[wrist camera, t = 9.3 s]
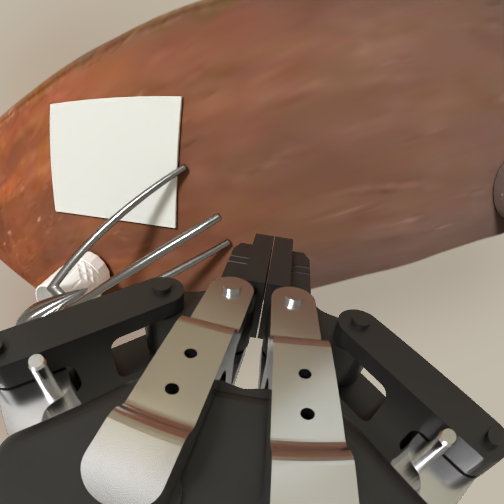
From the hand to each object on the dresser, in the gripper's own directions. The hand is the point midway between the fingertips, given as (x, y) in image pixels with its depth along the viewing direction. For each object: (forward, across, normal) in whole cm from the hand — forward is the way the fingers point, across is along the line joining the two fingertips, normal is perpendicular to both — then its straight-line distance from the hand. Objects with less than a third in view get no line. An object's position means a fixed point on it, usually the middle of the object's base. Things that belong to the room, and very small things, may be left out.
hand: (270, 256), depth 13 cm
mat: (+22, +22, +2) cm, 31 cm away
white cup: (+22, +26, +19) cm, 39 cm away
